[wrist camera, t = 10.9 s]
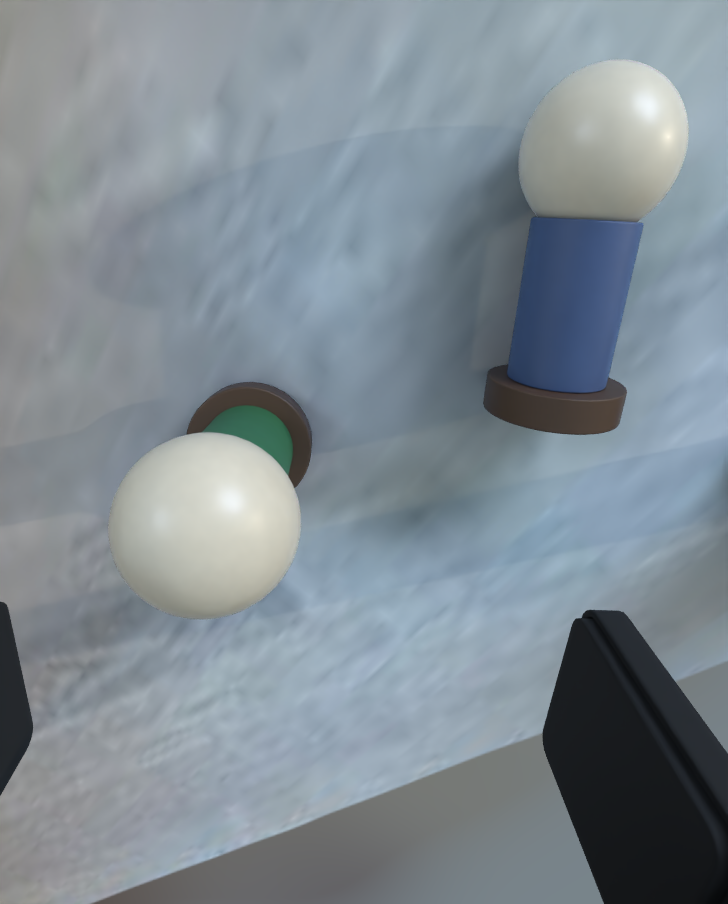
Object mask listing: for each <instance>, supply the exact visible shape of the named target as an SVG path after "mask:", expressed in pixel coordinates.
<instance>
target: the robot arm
mask: <svg viewBox="0 0 728 904" xmlns="http://www.w3.org/2000/svg"><path fill="white" fill-rule="evenodd" d="M32 732H33V722H32V717H31V712H30V708H29V703H28V698H27V694H26V689H25V684H24V680H23V675H22V670H21V666H20V661H19V656H18V652H17V647H16V643H15V638H14V633H13V629H12V624H11V619H10V615H9V610H8V607H7V605H6V604H5V603H4V602H0V795H1V794H2V792H3V790H4V788H5V787H6V785H7V783H8V781H9V780H10V778H11V776H12V774H13V773H14V771H15V769H16V767H17V766H18V764H19V762H20V760H21V759H22V757H23V755H24V754H25V752H26V750H27V748H28V746H29V743H30V741H31V737H32ZM543 745H544V751H545V753H546V757H547V759H548V762H549V764H550V767H551V769H552V772H553V774H554V777H555V779H556V782H557V785H558V787H559V790H560V792H561V795H562V797H563V800H564V803H565V805H566V807H567V810H568V813H569V815H570V818H571V820H572V823H573V826H574V828H575V831H576V833H577V836H578V838H579V841H580V843H581V846H582V849H583V851H584V854H585V856H586V859H587V861H588V864H589V866H590V869H591V872H592V874H593V877H594V879H595V882H596V884H597V887H598V889H599V892H600V895H601V897H602V899H603V902H604V904H728V753H727V752H726V751H725V749H724V748H723V747H722V745H721V744H720V742H719V741H718V740H717V738H716V737H715V736H714V734H713V733H712V732H711V730H710V729H709V727H708V726H707V725H706V724H705V722H704V721H703V719H702V718H701V717H700V715H699V714H698V712H697V711H696V710H695V708H694V707H693V706H692V704H691V703H690V701H689V700H688V699H687V697H686V696H685V695H684V693H683V692H682V691H681V689H680V688H679V686H678V685H677V684H676V682H675V681H674V679H673V678H672V677H671V675H670V674H669V673H668V671H667V670H666V668H665V667H664V666H663V664H662V663H661V662H660V660H659V659H658V658H657V656H656V655H655V653H654V652H653V651H652V649H651V648H650V647H649V645H648V644H647V642H646V641H645V640H644V638H643V637H642V636H641V634H640V633H639V631H638V630H637V629H636V627H635V626H634V625H633V623H632V622H631V620H630V619H629V618H628V616H627V615H626V614H625V613H624V612H621V611H608V610H587V611H586V612H585V613H584V614H583V616H582V618H578V619H575V620H574V622H573V624H572V627H571V631H570V634H569V638H568V642H567V645H566V649H565V652H564V656H563V660H562V663H561V667H560V671H559V674H558V678H557V681H556V685H555V689H554V692H553V696H552V699H551V703H550V707H549V710H548V714H547V718H546V721H545V725H544V728H543Z"/></svg>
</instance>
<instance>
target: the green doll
mask: <svg viewBox="0 0 728 904" xmlns="http://www.w3.org/2000/svg"><path fill="white" fill-rule="evenodd" d="M311 448H312V435H311V429H310V426H309V423H308V420H307V418H306V416H305V414H304V412H303V411H302V409H301V408H300V406H299V405H298V404H297V403H296V402H295V401H294V400H293V399H292V398H291V397H290V396H289V395H287V394H286V393H284V392H283V391H281V390H279V389H277V388H275V387H272V386H270V385H267V384H262V383H255V382H243V383H237V384H233V385H230V386H227V387H225V388H223V389H221V390H219V391H218V392H216V393H214V394H213V395H212V396H211V397H210V398H209V399H207V400H206V401H205V402H204V403H203V404H202V405H201V406H200V407H199V408H198V409H197V411H196V412H195V414H194V415H193V417H192V419H191V421H190V424H189V427H188V430H187V435H184V436H180V437H176V438H174V439H171V440H169V441H167V442H164V443H162V444H160V445H159V446H157V447H155V448H154V449H152V450H150V451H149V452H148V453H146V454H145V455H144V456H143V457H142V458H140V459H139V460H138V461H137V462H136V463H135V465H134V466H133V467H132V468H131V469H130V470H129V471H128V473H127V474H126V476H125V477H124V479H123V480H122V482H121V483H120V486H119V488H118V490H117V492H116V494H115V496H114V499H113V502H112V506H111V509H110V516H109V524H108V535H109V543H110V549H111V553H112V556H113V559H114V562H115V565H116V567H117V569H118V571H119V572H120V574H121V576H122V578H123V579H124V581H125V582H126V583H127V584H128V586H129V587H130V588H131V589H132V590H133V591H134V592H135V593H136V594H137V595H138V596H139V597H140V598H141V599H142V600H144V601H145V602H147V603H148V604H150V605H151V606H153V607H155V608H156V609H158V610H160V611H162V612H165V613H168V614H170V615H173V616H177V617H181V618H187V619H200V620H204V619H216V618H221V617H226V616H229V615H233V614H236V613H238V612H241V611H243V610H245V609H247V608H249V607H251V606H252V605H254V604H256V603H257V602H259V601H260V600H262V599H263V598H264V597H265V596H267V595H268V594H269V593H270V592H271V591H272V590H273V589H274V588H275V587H276V586H277V585H278V584H279V582H280V581H281V580H282V579H283V577H284V576H285V574H286V572H287V571H288V569H289V567H290V565H291V564H292V562H293V559H294V557H295V554H296V551H297V548H298V544H299V540H300V533H301V512H300V506H299V501H298V498H297V495H296V492H295V489H294V488H295V487H296V486H297V485H298V484H299V483H300V481H301V480H302V478H303V477H304V475H305V473H306V471H307V468H308V465H309V461H310V456H311Z"/></svg>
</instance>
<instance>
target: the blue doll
mask: <svg viewBox="0 0 728 904" xmlns="http://www.w3.org/2000/svg"><path fill="white" fill-rule="evenodd" d="M688 134H689V132H688V119H687V113H686V109H685V106H684V103H683V101H682V99H681V96H680V94H679V93H678V91H677V90H676V88H675V87H674V85H673V84H672V83H671V82H670V81H669V79H668V78H667V77H666V76H664V75H663V74H662V73H661V72H659V71H658V70H656V69H654V68H653V67H651V66H649V65H646V64H643V63H640V62H637V61H632V60H606V61H600V62H597V63H594V64H591V65H588V66H585V67H583V68H581V69H579V70H577V71H575V72H573V73H572V74H570V75H569V76H567V77H565V78H564V79H563V80H562V81H560V82H559V83H558V84H557V85H556V86H555V87H553V88H552V89H551V90H550V91H549V92H548V93H547V95H546V96H545V97H544V98H543V99H542V101H541V102H540V103H539V105H538V106H537V108H536V109H535V111H534V113H533V114H532V116H531V118H530V120H529V122H528V124H527V126H526V129H525V131H524V134H523V137H522V141H521V146H520V151H519V161H518V165H519V178H520V184H521V187H522V191H523V194H524V196H525V198H526V201H527V202H528V204H529V206H530V207H531V209H532V210H533V211H534V213H535V214H536V215H537V216H538V217H533V218H531V223H530V229H529V236H528V242H527V248H526V255H525V261H524V267H523V274H522V280H521V286H520V293H519V299H518V306H517V312H516V318H515V325H514V331H513V337H512V344H511V350H510V356H509V363H508V364H507V365H501V366H497V367H494V368H492V369H490V370H489V371H488V374H487V380H486V387H485V394H484V401H483V404H484V407H485V409H486V410H487V411H488V412H490V413H491V414H492V415H494V416H496V417H498V418H500V419H502V420H504V421H507V422H509V423H512V424H515V425H518V426H522V427H526V428H530V429H534V430H539V431H545V432H552V433H560V434H574V435H586V434H599V433H604V432H608V431H611V430H613V429H615V428H616V427H617V426H618V425H619V422H620V418H621V414H622V410H623V406H624V402H625V398H626V394H627V390H626V388H625V387H624V386H623V385H622V384H620V383H619V382H617V381H615V380H613V379H611V378H608V377H609V372H610V368H611V364H612V359H613V355H614V351H615V346H616V342H617V338H618V333H619V329H620V325H621V320H622V316H623V312H624V307H625V303H626V299H627V294H628V290H629V286H630V281H631V277H632V273H633V268H634V264H635V260H636V255H637V251H638V247H639V242H640V238H641V234H642V229H643V223H638V221H639V220H641V219H642V218H643V217H644V216H646V215H647V214H648V213H650V212H651V211H652V210H653V209H654V208H655V207H656V206H657V205H658V204H659V203H660V202H661V201H662V199H663V198H664V197H665V196H666V194H667V193H668V192H669V190H670V189H671V187H672V186H673V184H674V182H675V180H676V178H677V177H678V175H679V172H680V170H681V168H682V165H683V162H684V159H685V155H686V150H687V145H688Z"/></svg>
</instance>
